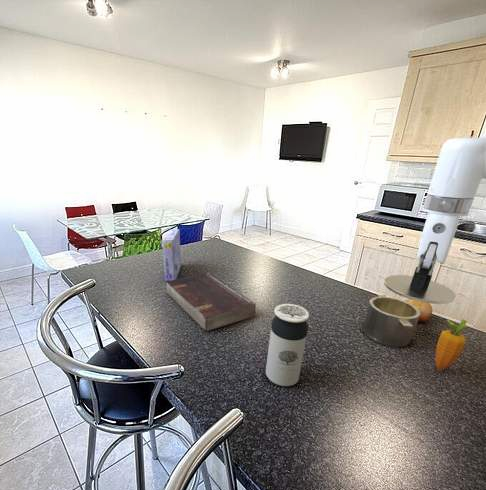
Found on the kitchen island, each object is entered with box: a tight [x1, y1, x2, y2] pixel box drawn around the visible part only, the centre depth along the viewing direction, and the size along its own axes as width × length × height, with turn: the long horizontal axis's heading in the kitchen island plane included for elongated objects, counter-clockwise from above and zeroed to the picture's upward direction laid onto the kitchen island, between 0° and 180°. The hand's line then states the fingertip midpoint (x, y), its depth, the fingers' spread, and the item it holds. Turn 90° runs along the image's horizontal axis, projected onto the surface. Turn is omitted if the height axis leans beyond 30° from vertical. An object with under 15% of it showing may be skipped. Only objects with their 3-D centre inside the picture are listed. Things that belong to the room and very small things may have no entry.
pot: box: [362, 294, 420, 348], centre depth 87 cm, size 13×18×10 cm
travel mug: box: [265, 303, 310, 387], centre depth 68 cm, size 8×8×18 cm
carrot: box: [434, 318, 468, 372], centre depth 71 cm, size 5×5×15 cm
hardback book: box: [165, 272, 257, 332], centre depth 102 cm, size 29×19×5 cm, turn 32°
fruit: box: [404, 298, 433, 323], centre depth 96 cm, size 8×8×8 cm
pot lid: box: [383, 274, 457, 305], centre depth 66 cm, size 14×14×6 cm
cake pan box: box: [161, 228, 182, 281], centre depth 125 cm, size 19×5×18 cm, turn 178°
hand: (418, 286), depth 66 cm, fingers closed on pot lid, 2 cm apart
